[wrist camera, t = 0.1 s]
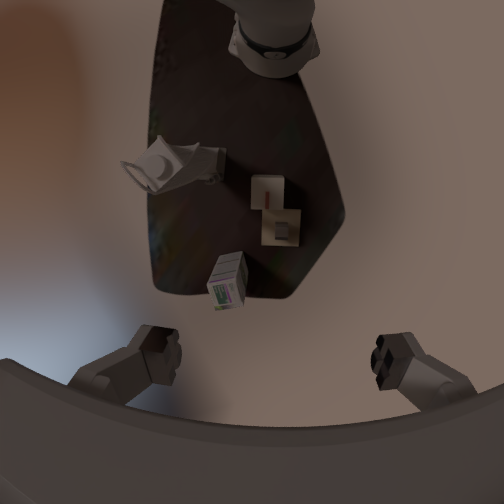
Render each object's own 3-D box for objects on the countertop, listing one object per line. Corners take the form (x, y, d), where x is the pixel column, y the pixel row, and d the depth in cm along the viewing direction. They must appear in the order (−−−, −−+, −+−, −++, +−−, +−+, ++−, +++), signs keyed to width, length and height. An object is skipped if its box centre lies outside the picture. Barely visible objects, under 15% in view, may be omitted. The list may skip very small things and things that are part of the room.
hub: (262, 208, 56) (261, 213, 52) (300, 209, 56) (303, 214, 51) (261, 244, 59) (260, 252, 55) (298, 245, 59) (300, 253, 54)
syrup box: (218, 255, 61) (204, 285, 47) (243, 249, 60) (235, 279, 46) (225, 277, 63) (213, 311, 49) (250, 272, 62) (244, 306, 48)
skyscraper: (185, 177, 55) (117, 202, 29) (188, 140, 53) (119, 135, 26) (223, 181, 55) (181, 207, 29) (227, 143, 52) (186, 134, 26)
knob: (253, 174, 54) (251, 177, 48) (282, 175, 54) (284, 178, 47) (253, 203, 56) (250, 209, 50) (281, 204, 56) (283, 210, 49)
